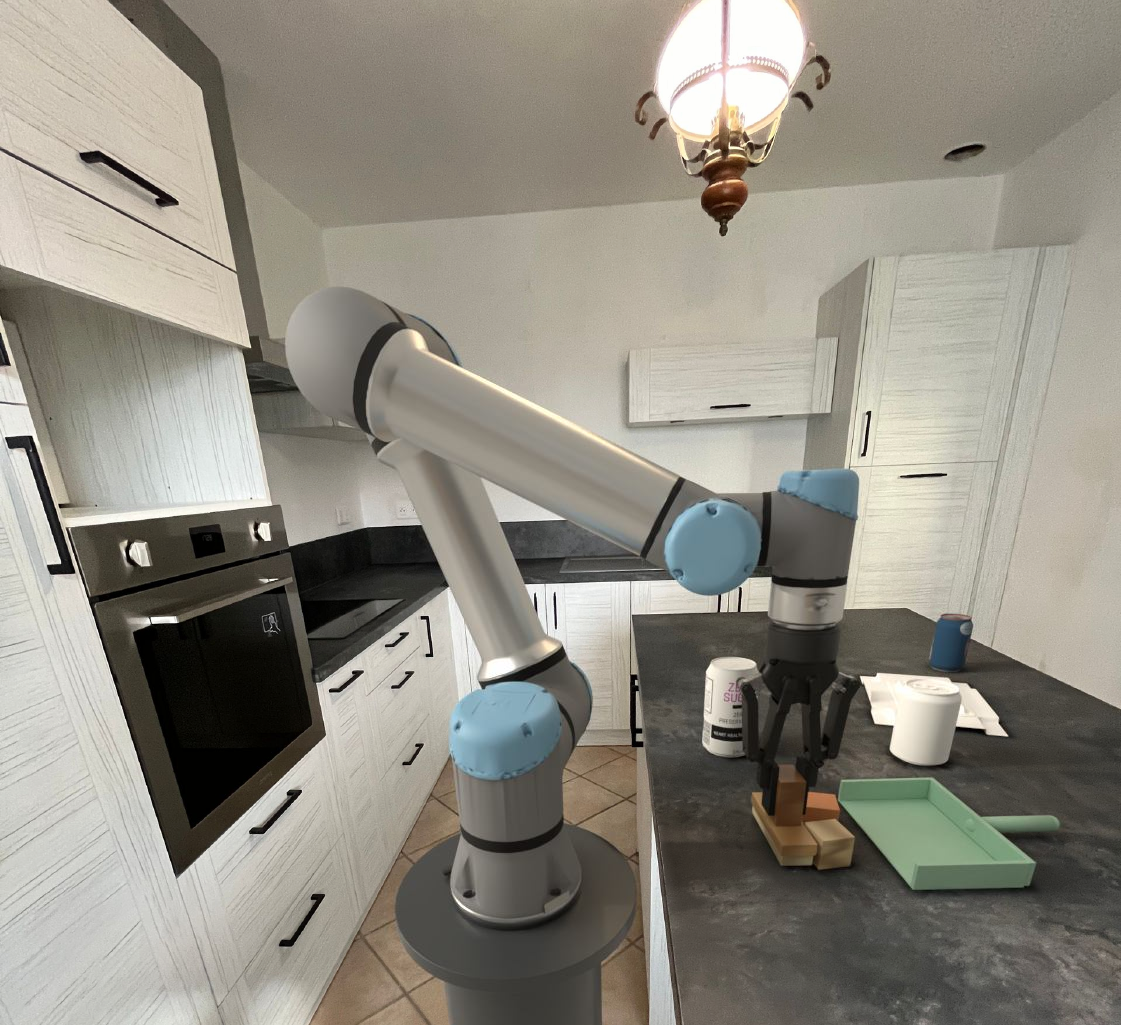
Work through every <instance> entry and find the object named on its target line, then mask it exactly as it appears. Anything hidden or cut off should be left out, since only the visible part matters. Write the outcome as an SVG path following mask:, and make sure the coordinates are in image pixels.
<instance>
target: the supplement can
mask: <svg viewBox="0 0 1121 1025" xmlns="http://www.w3.org/2000/svg"><path fill="white" fill-rule="evenodd" d="M757 673H759V669H758V666H757V663H756V662H755V661H754V660H752V659H749V658H744V657H738V656H722V657H717V658H714V659H712V660H711V661H710V664H709V666H708V668H707V669H706V671H705V683H704V684H705V685H704V702H703V720H702V721H703V723H702V742H701V743H702V746H703V747H704V748H705V749H706V750H707V751H708V752H709V753H710V754H713V755H715V756H718V757H723V758H739V757H743V756H746V755H745V753H744V752H743V747H742V696H741V694H740V691H739V689H738V687H737V684H736V680H737V679H738V678H739V677H744V678H745V679H746V678H748V677H751V676H753V675H755V674H757ZM758 696H759V695H758ZM758 696H756V697H757V699H758Z"/></svg>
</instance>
